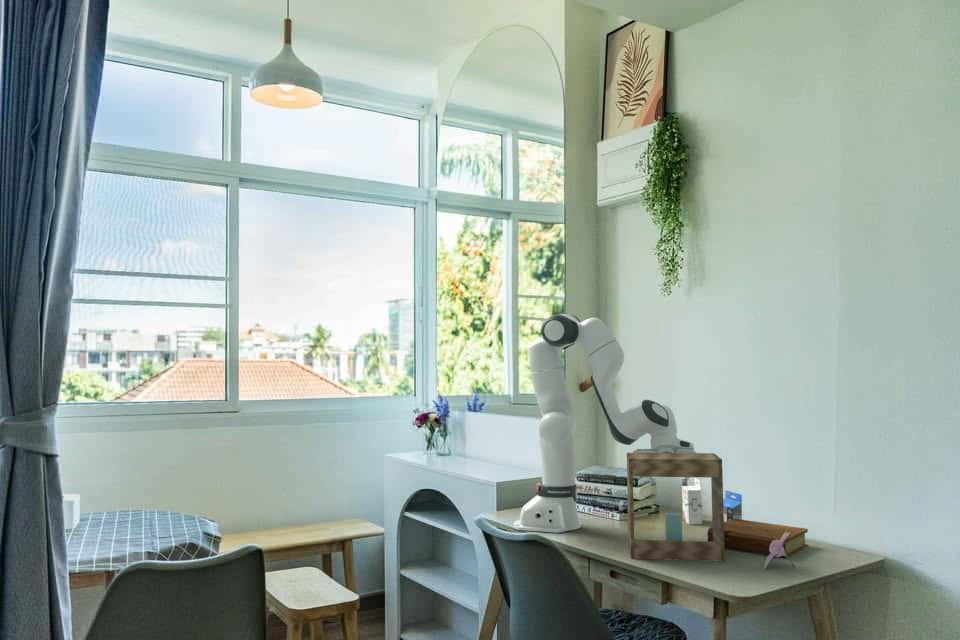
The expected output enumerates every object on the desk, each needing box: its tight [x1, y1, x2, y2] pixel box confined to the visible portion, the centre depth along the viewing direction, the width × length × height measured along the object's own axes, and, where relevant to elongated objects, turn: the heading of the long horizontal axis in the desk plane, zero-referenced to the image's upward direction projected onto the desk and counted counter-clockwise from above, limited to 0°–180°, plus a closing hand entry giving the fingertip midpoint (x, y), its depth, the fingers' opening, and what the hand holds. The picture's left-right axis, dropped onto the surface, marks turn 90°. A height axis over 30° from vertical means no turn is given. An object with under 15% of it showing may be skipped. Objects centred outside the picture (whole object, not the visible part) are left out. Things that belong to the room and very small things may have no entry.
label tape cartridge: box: [723, 490, 743, 522], centre depth 249 cm, size 9×4×12 cm, turn 18°
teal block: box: [664, 512, 683, 541], centre depth 222 cm, size 4×4×11 cm
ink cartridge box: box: [681, 477, 703, 525], centre depth 262 cm, size 9×5×15 cm, turn 179°
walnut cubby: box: [626, 452, 726, 562], centre depth 221 cm, size 26×14×28 cm, turn 82°
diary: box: [707, 519, 809, 559], centre depth 228 cm, size 23×19×6 cm
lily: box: [763, 531, 796, 570], centre depth 206 cm, size 12×12×10 cm
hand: (669, 485), depth 234 cm, fingers open, 8 cm apart
